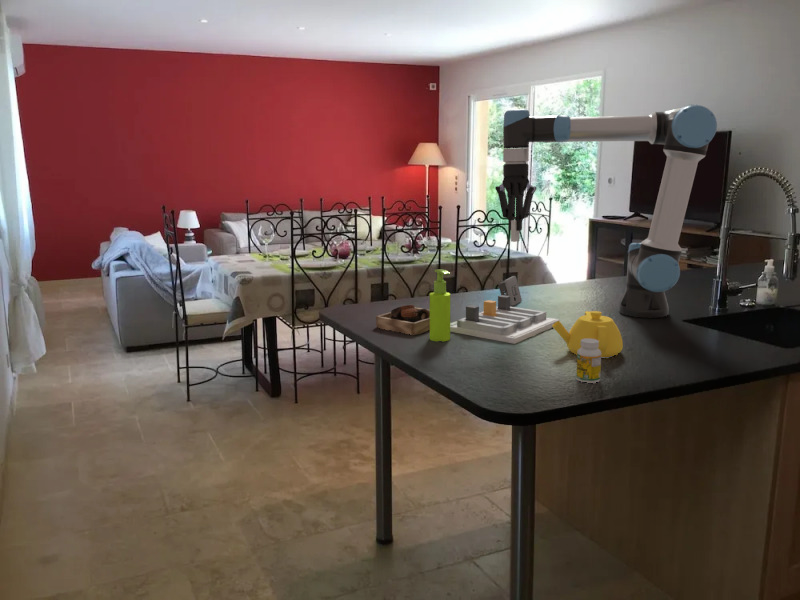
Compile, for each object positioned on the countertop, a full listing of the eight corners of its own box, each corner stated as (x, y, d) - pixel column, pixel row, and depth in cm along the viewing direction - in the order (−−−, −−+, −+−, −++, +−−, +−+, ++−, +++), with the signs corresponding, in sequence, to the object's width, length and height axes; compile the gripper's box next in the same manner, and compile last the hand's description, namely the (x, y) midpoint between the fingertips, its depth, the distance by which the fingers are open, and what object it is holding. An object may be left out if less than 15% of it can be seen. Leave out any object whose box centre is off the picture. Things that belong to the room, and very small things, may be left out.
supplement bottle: (604, 382, 159) (607, 342, 157) (586, 385, 157) (588, 344, 155) (589, 375, 164) (591, 336, 162) (571, 378, 162) (573, 339, 160)
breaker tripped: (496, 319, 212) (496, 301, 210) (491, 321, 209) (491, 302, 208) (488, 318, 213) (488, 299, 212) (482, 320, 211) (483, 301, 210)
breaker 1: (479, 325, 205) (479, 306, 204) (473, 327, 203) (473, 308, 202) (470, 323, 207) (470, 304, 206) (465, 325, 205) (465, 306, 203)
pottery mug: (393, 335, 204) (386, 308, 206) (396, 341, 213) (390, 315, 215) (432, 324, 203) (425, 298, 205) (434, 330, 212) (427, 305, 214)
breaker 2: (510, 314, 219) (510, 296, 217) (505, 315, 216) (505, 297, 215) (502, 312, 220) (502, 294, 219) (497, 314, 218) (497, 296, 217)
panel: (559, 324, 212) (559, 313, 211) (514, 343, 191) (514, 331, 190) (492, 313, 226) (492, 302, 226) (444, 330, 206) (444, 318, 205)
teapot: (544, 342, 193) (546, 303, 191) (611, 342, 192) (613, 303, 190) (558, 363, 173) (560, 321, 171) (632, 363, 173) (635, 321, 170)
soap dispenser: (438, 343, 192) (438, 272, 188) (425, 337, 198) (425, 269, 194) (456, 340, 195) (456, 270, 191) (443, 335, 201) (443, 267, 197)
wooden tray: (448, 323, 214) (448, 312, 213) (414, 335, 201) (414, 323, 200) (410, 317, 223) (409, 306, 222) (375, 327, 210) (375, 316, 209)
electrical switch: (513, 306, 236) (511, 280, 234) (498, 306, 238) (497, 280, 237) (522, 301, 244) (520, 275, 242) (508, 301, 246) (506, 275, 245)
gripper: (541, 162, 207) (540, 240, 212) (502, 162, 215) (502, 238, 220) (529, 163, 201) (528, 243, 206) (490, 163, 209) (490, 241, 214)
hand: (515, 241), depth 213 cm, fingers closed
